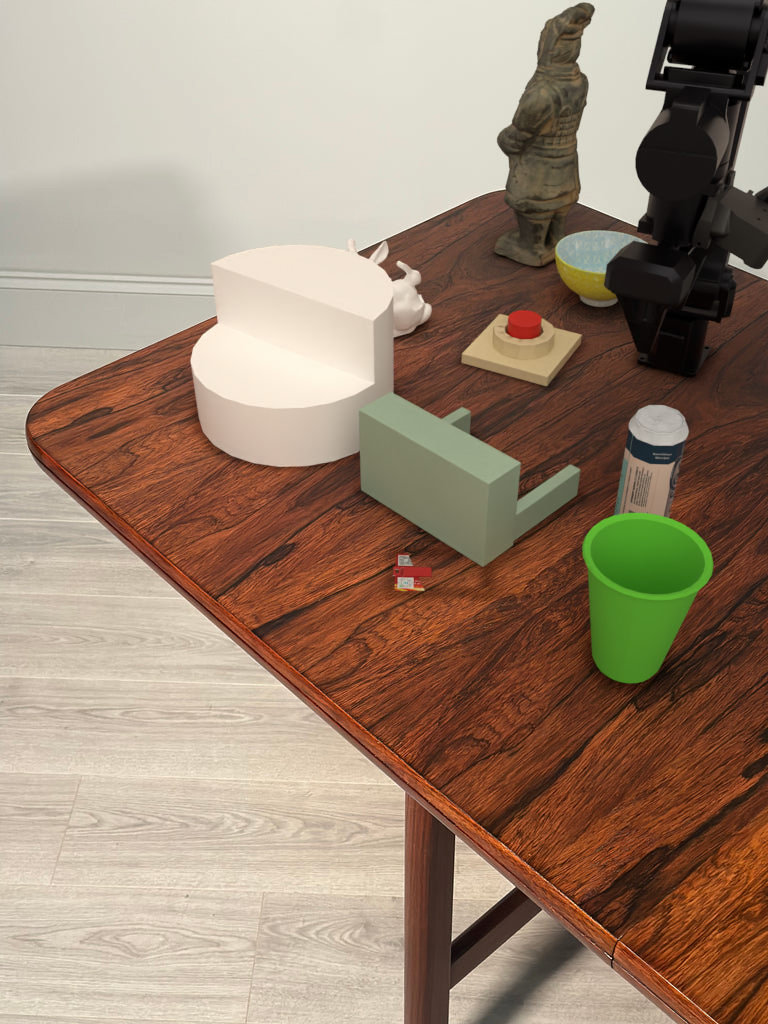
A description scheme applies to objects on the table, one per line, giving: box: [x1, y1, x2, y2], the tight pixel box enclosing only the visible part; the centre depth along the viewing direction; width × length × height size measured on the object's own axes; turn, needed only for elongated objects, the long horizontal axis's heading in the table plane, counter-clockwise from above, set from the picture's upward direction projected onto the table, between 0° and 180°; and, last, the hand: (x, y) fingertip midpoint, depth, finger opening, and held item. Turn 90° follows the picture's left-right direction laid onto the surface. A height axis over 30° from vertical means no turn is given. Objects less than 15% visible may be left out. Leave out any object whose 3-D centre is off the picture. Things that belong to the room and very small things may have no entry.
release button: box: [507, 309, 543, 339], centre depth 113 cm, size 4×4×2 cm
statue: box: [493, 1, 596, 267], centre depth 125 cm, size 11×9×30 cm
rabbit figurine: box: [346, 238, 433, 339], centre depth 117 cm, size 12×8×10 cm, turn 103°
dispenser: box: [359, 392, 582, 568], centre depth 93 cm, size 14×15×9 cm
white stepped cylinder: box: [190, 244, 395, 468], centre depth 103 cm, size 20×20×13 cm
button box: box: [461, 313, 583, 387], centre depth 114 cm, size 10×10×3 cm
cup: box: [581, 513, 714, 684], centre depth 77 cm, size 9×9×11 cm
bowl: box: [555, 230, 649, 308], centre depth 123 cm, size 11×12×6 cm
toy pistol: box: [392, 553, 433, 592], centre depth 88 cm, size 8×1×5 cm
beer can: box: [613, 404, 690, 518], centre depth 88 cm, size 5×5×12 cm
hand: (660, 329), depth 93 cm, fingers open, 9 cm apart
